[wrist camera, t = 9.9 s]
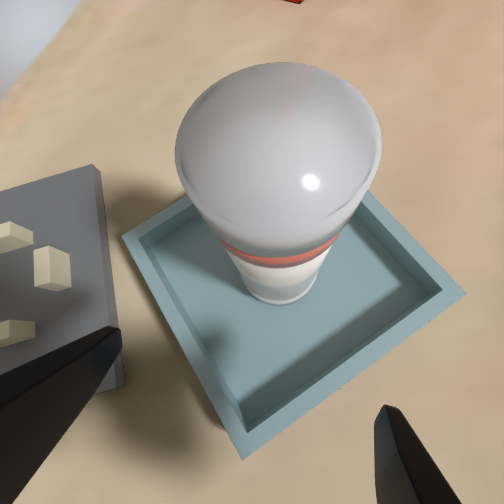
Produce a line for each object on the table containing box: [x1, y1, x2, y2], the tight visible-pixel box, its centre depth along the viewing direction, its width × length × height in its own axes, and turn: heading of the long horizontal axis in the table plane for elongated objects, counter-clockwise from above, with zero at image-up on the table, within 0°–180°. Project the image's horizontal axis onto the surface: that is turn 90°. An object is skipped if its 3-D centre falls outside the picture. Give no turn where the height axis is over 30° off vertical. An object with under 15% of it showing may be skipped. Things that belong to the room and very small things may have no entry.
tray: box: [122, 189, 466, 460], centre depth 17 cm, size 14×14×2 cm
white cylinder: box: [175, 62, 382, 306], centre depth 12 cm, size 5×5×12 cm
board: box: [0, 164, 125, 394], centre depth 18 cm, size 16×12×3 cm
